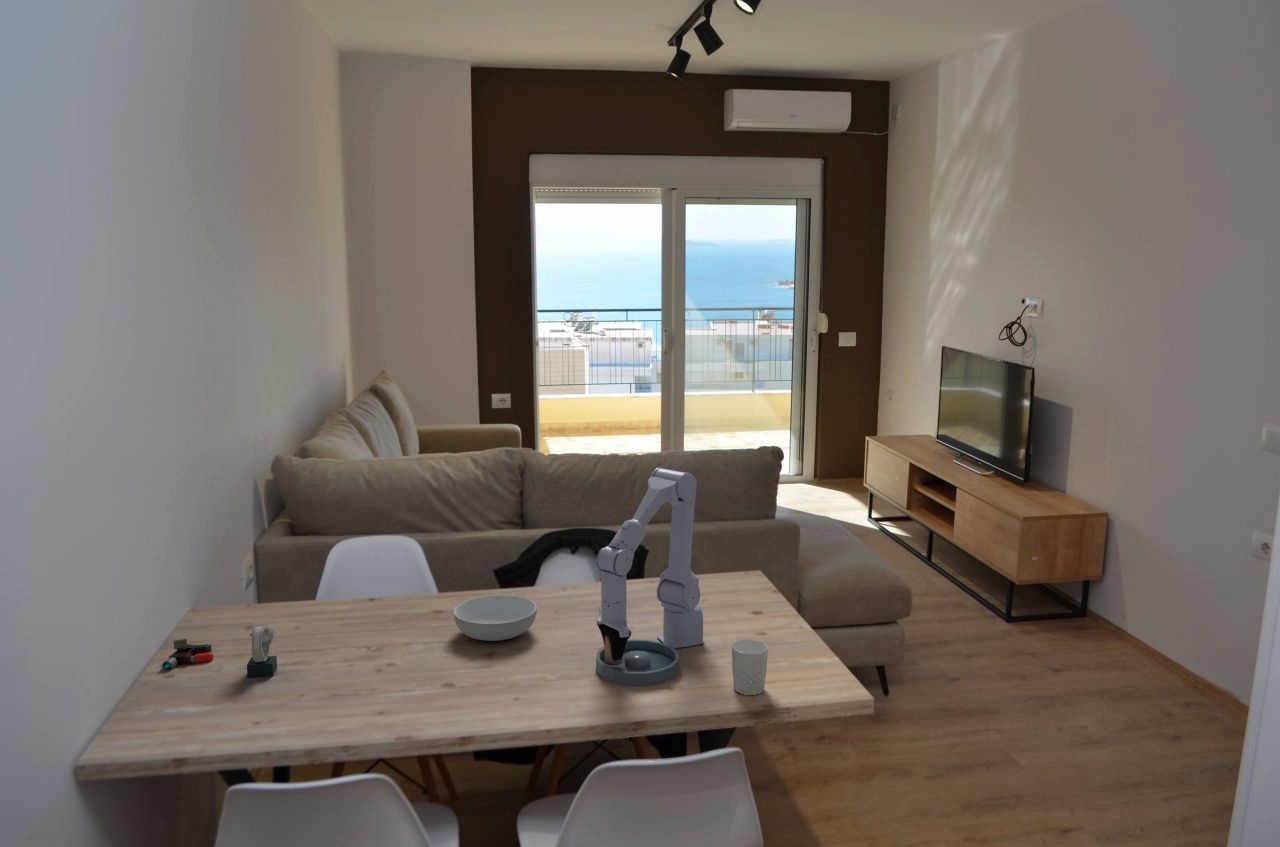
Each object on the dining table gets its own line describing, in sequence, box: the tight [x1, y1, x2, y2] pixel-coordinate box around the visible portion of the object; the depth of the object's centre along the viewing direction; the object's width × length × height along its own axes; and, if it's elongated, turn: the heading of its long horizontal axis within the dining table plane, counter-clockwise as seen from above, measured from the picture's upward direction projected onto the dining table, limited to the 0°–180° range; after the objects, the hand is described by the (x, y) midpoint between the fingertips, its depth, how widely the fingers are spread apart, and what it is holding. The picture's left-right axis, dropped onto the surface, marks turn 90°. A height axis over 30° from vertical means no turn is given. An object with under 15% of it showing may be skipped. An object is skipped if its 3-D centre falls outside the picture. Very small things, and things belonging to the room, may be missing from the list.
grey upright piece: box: [246, 624, 278, 679], centre depth 217 cm, size 6×8×11 cm
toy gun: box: [161, 638, 215, 671], centre depth 223 cm, size 10×12×5 cm
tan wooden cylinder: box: [605, 635, 622, 666], centre depth 218 cm, size 4×4×6 cm
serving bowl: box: [452, 594, 538, 642], centre depth 241 cm, size 21×21×7 cm
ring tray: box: [595, 639, 680, 687], centre depth 221 cm, size 19×19×3 cm
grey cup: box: [731, 639, 769, 696], centre depth 210 cm, size 8×8×10 cm
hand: (613, 655), depth 218 cm, fingers closed on tan wooden cylinder, 4 cm apart
